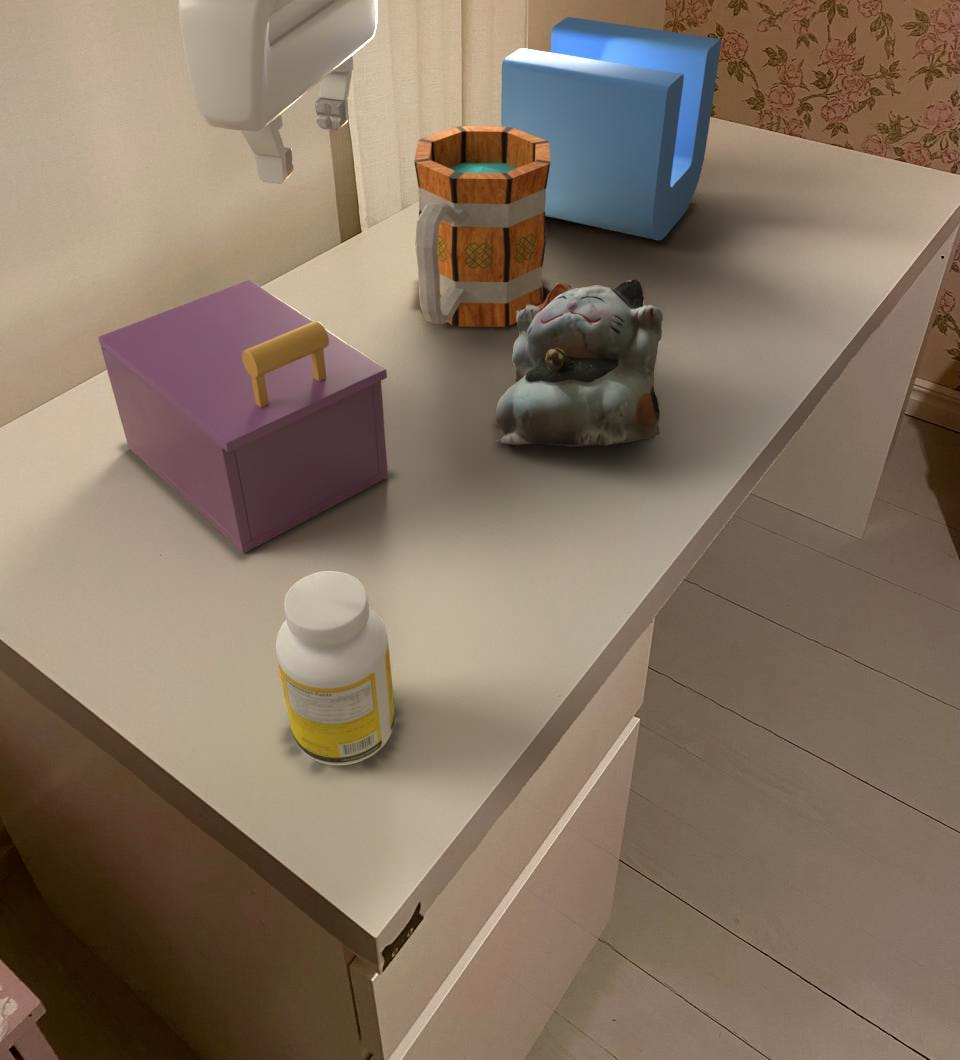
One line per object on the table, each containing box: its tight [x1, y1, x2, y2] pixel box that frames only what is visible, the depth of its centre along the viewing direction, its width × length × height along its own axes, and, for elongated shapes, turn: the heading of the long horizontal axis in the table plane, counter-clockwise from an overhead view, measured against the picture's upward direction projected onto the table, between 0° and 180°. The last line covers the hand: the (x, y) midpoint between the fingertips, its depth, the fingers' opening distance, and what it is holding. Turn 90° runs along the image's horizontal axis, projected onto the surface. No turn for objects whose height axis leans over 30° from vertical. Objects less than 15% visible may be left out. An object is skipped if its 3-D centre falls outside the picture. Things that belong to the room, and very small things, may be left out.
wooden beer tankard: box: [414, 125, 550, 328], centre depth 101 cm, size 20×14×15 cm
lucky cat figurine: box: [495, 278, 664, 448], centre depth 87 cm, size 15×12×14 cm
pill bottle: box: [275, 570, 395, 766], centre depth 62 cm, size 6×6×12 cm
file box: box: [100, 345, 389, 554], centre depth 83 cm, size 18×14×10 cm
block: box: [500, 16, 722, 241], centre depth 117 cm, size 18×18×18 cm
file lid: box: [97, 279, 388, 452], centre depth 78 cm, size 19×14×5 cm
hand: (306, 151), depth 69 cm, fingers open, 8 cm apart
